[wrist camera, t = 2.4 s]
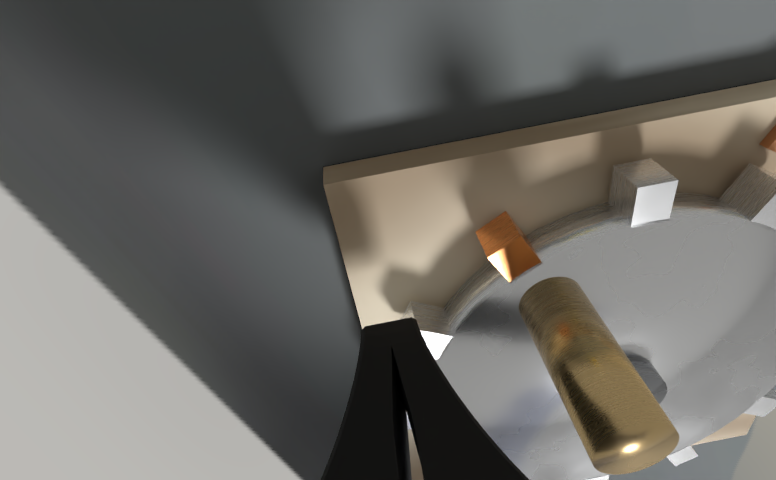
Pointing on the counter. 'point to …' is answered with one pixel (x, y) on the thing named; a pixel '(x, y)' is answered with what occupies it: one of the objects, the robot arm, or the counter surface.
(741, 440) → the counter surface
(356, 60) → the counter surface
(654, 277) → the sprocket
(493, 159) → the sprocket base
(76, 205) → the counter surface
